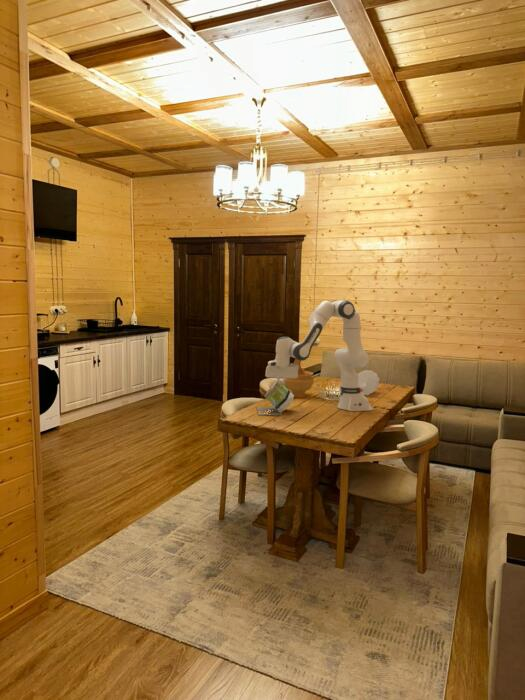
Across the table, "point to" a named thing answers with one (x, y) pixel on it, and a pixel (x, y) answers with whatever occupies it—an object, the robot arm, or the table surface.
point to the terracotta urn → (300, 381)
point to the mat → (274, 412)
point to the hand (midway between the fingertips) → (281, 384)
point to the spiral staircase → (368, 381)
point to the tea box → (279, 396)
